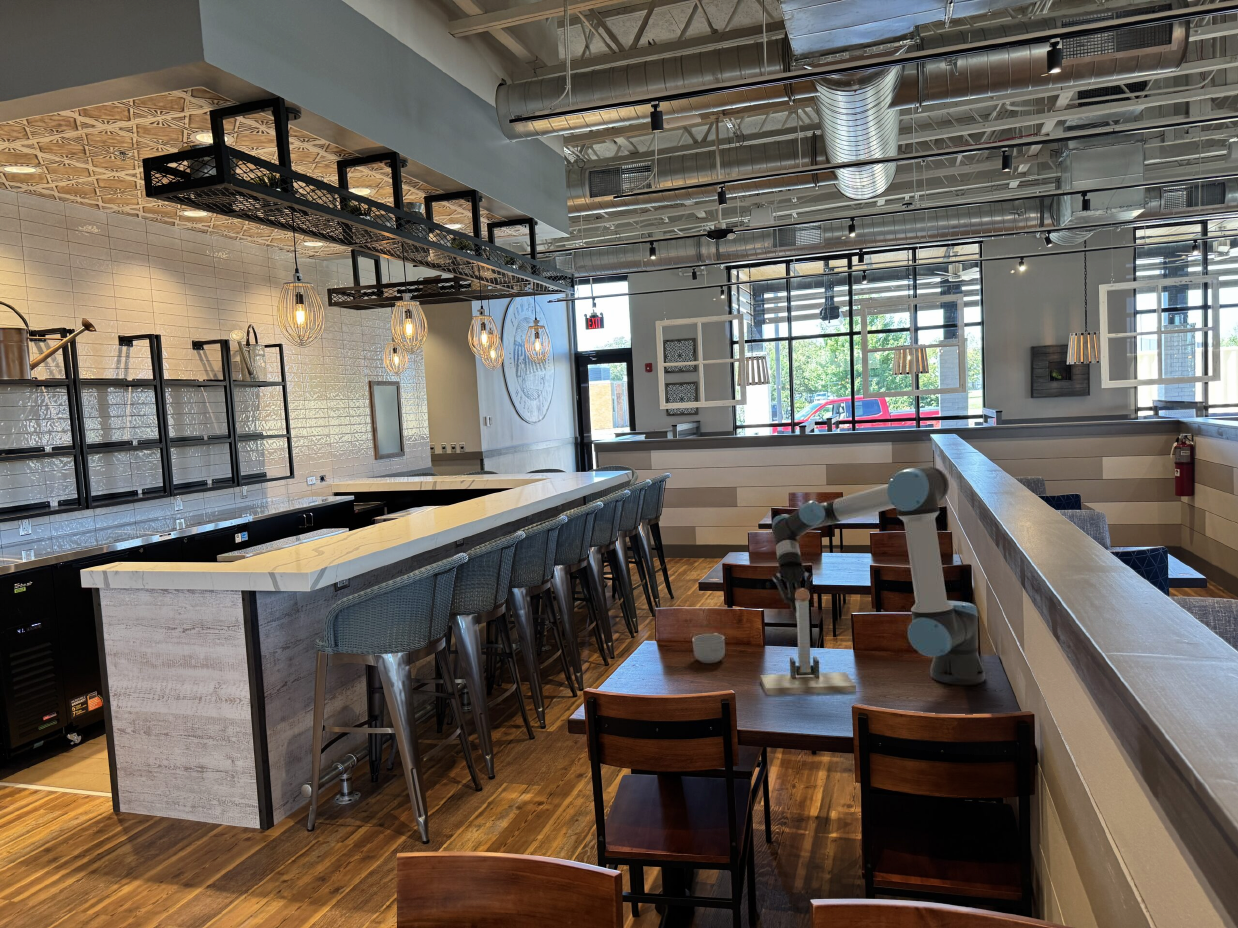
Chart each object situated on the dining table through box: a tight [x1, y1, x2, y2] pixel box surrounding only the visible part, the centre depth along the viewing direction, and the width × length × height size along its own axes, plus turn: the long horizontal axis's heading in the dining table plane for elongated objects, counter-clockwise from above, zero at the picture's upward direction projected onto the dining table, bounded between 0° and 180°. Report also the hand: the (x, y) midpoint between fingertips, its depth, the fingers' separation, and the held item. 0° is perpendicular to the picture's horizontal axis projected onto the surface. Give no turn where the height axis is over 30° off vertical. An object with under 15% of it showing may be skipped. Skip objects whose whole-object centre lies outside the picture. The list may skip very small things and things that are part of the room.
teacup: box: [691, 632, 726, 664], centre depth 273 cm, size 14×11×8 cm
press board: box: [759, 656, 857, 696], centre depth 242 cm, size 26×12×8 cm, turn 88°
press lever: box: [794, 587, 814, 676], centre depth 245 cm, size 5×4×27 cm
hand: (800, 620), depth 248 cm, fingers closed
